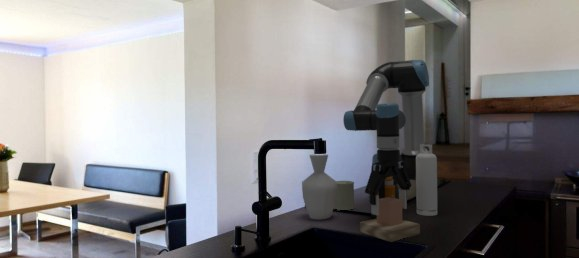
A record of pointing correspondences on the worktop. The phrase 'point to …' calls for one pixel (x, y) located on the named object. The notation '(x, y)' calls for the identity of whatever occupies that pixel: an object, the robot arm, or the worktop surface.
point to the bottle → (426, 182)
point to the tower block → (390, 211)
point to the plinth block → (390, 230)
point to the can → (344, 195)
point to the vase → (319, 190)
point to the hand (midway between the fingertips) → (389, 211)
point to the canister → (386, 190)
